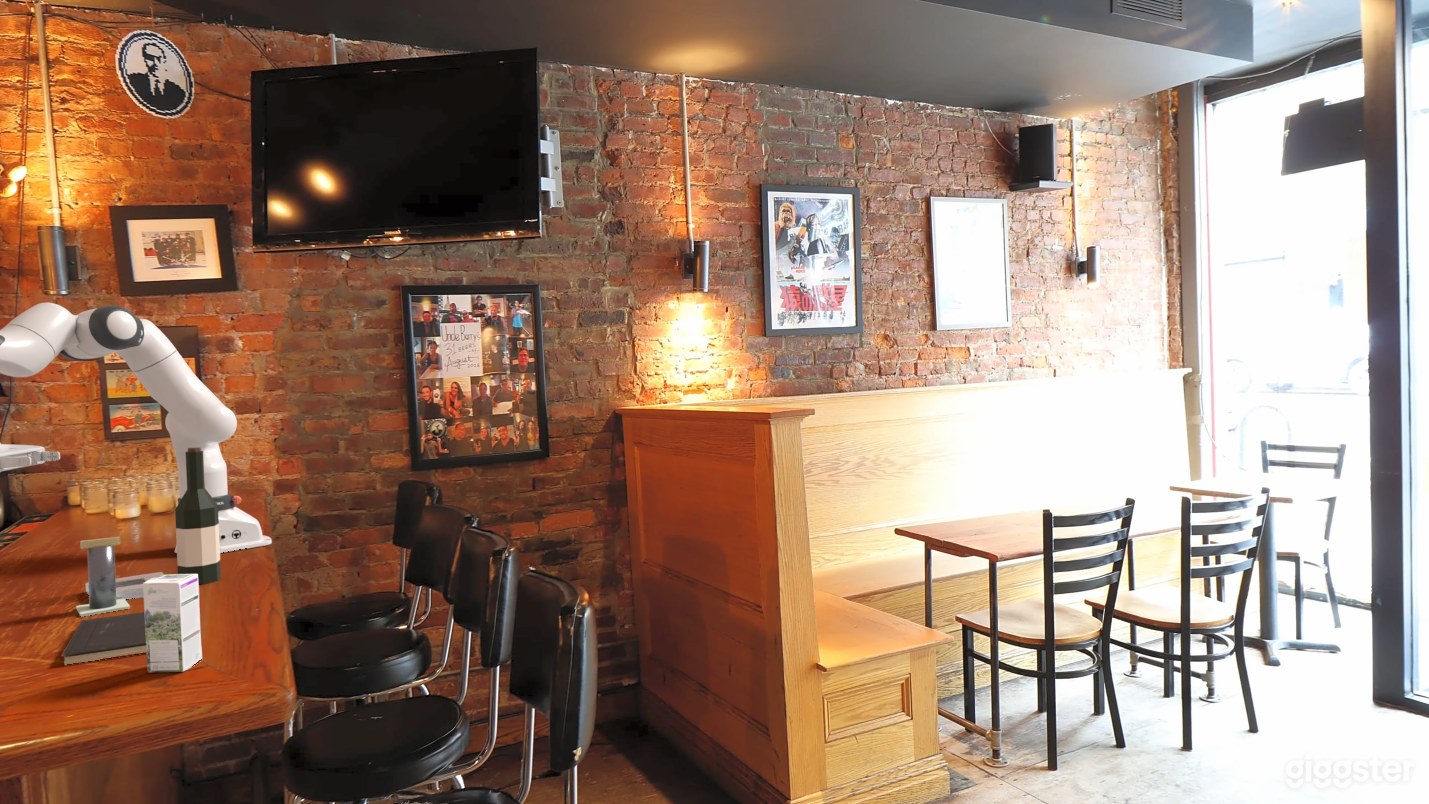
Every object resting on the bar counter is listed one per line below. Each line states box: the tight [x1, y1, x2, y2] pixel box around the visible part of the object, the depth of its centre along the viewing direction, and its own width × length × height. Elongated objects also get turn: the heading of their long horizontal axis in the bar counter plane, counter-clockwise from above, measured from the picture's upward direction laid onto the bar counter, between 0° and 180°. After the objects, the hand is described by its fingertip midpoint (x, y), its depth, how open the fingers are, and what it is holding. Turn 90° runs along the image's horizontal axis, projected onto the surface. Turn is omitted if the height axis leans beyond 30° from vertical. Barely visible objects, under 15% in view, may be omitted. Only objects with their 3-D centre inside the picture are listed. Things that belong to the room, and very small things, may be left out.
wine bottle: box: [174, 447, 222, 585], centre depth 195 cm, size 8×8×30 cm
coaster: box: [75, 598, 131, 618], centre depth 174 cm, size 8×8×1 cm
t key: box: [79, 536, 122, 609], centre depth 173 cm, size 6×4×13 cm
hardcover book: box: [60, 611, 147, 666], centre depth 154 cm, size 16×23×2 cm
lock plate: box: [85, 571, 166, 601], centre depth 186 cm, size 14×14×2 cm
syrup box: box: [143, 573, 203, 673], centre depth 138 cm, size 6×6×14 cm
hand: (45, 458), depth 175 cm, fingers open, 8 cm apart
